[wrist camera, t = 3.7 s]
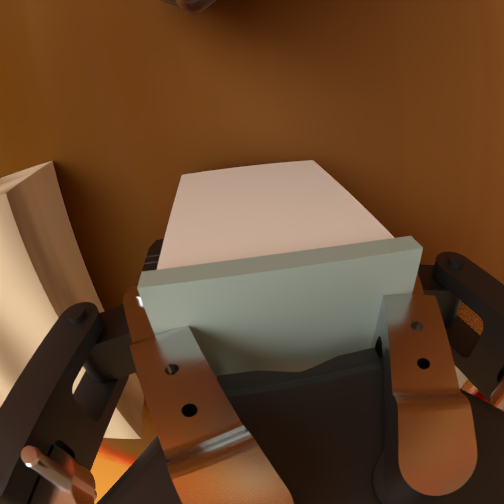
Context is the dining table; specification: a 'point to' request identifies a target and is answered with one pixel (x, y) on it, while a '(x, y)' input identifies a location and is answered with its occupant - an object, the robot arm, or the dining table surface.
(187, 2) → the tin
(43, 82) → the dining table surface
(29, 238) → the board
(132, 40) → the dining table surface
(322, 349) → the green and cream block
